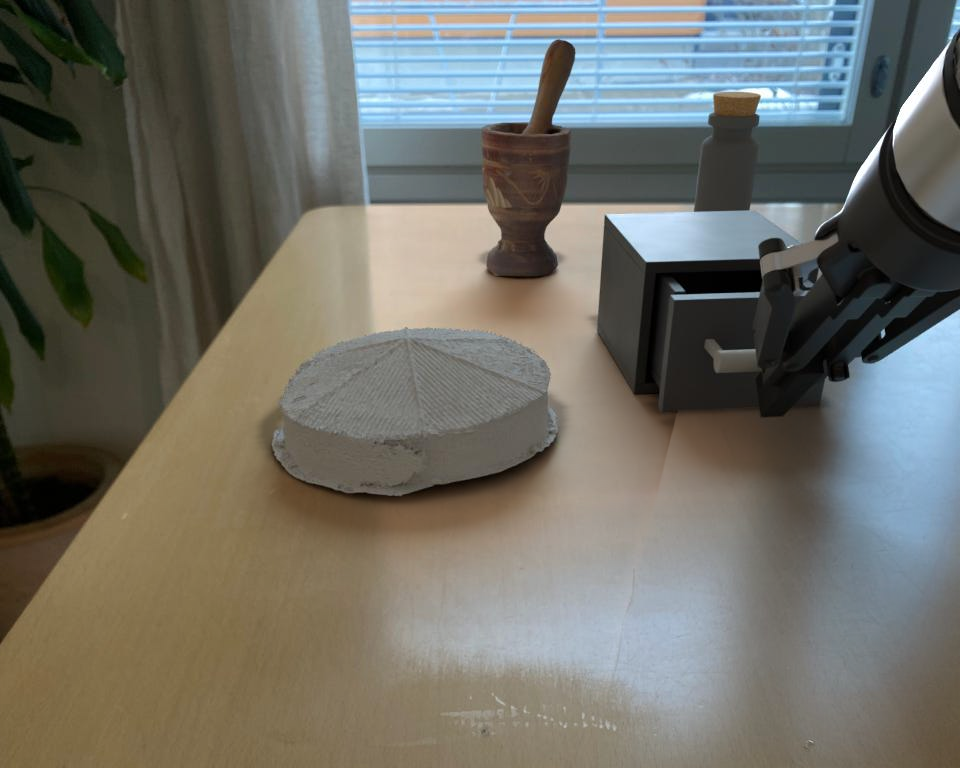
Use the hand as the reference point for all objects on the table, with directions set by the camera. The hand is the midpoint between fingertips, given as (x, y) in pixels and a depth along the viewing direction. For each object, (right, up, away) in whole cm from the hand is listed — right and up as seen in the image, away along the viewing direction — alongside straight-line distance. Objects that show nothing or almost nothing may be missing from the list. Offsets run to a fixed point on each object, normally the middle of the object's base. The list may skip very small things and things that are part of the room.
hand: (769, 397), depth 63 cm
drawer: (-1, +3, +9) cm, 9 cm away
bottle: (+7, +27, +44) cm, 52 cm away
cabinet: (-2, +7, +16) cm, 18 cm away
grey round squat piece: (-23, -2, +4) cm, 24 cm away
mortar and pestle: (-14, +24, +39) cm, 48 cm away
